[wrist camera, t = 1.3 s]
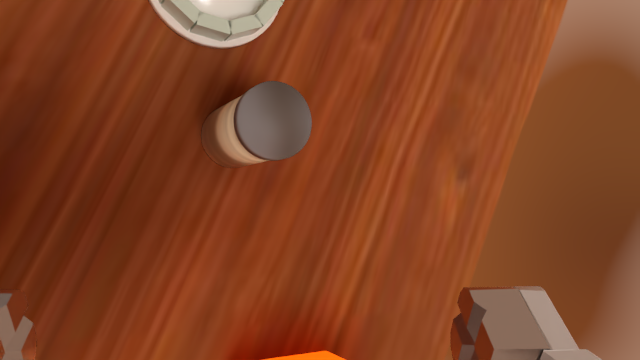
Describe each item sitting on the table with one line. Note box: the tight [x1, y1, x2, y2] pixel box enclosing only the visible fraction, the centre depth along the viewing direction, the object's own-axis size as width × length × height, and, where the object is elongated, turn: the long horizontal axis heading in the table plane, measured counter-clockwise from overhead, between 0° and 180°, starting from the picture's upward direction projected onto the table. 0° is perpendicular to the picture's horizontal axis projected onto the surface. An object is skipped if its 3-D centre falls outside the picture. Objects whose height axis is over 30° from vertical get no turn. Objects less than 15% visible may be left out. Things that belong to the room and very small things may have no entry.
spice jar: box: [201, 81, 312, 168], centre depth 41 cm, size 5×5×9 cm
